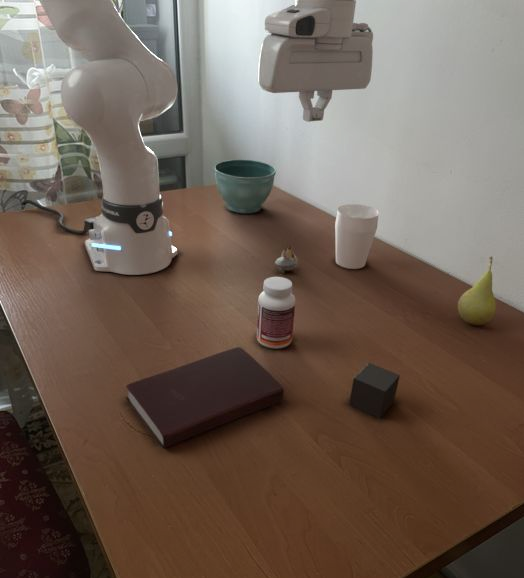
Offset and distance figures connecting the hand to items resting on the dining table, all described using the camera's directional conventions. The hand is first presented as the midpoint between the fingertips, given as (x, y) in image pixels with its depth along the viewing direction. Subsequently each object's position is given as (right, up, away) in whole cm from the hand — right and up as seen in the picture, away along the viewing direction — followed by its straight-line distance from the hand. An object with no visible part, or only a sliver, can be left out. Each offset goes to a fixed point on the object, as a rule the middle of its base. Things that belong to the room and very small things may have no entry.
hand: (312, 120), depth 89 cm
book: (-17, -45, -9) cm, 49 cm away
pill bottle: (-6, -36, +6) cm, 37 cm away
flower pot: (-13, +1, +60) cm, 62 cm away
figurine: (-3, -20, +29) cm, 36 cm away
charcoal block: (+8, -45, -7) cm, 47 cm away
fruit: (+32, -32, +15) cm, 47 cm away
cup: (+12, -18, +34) cm, 40 cm away
